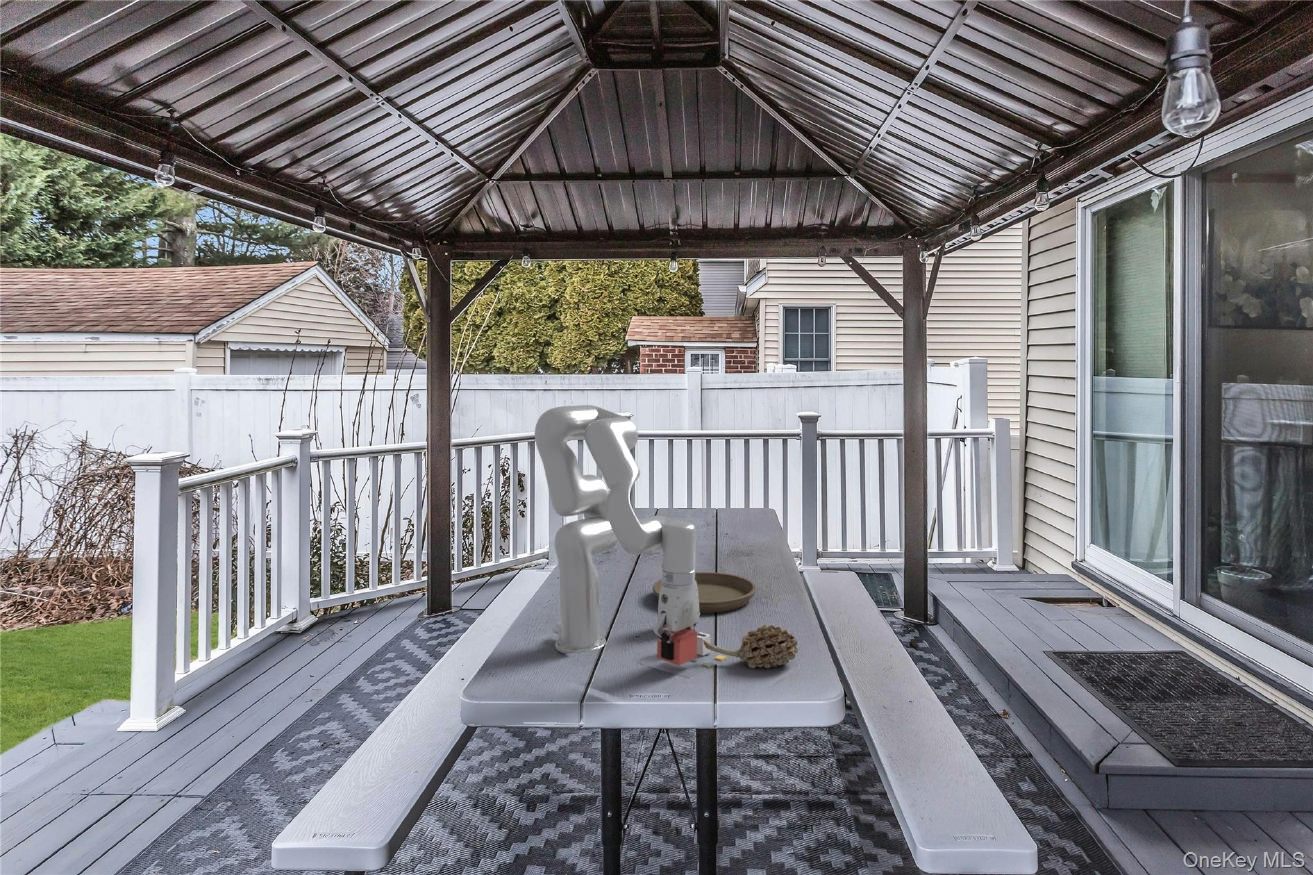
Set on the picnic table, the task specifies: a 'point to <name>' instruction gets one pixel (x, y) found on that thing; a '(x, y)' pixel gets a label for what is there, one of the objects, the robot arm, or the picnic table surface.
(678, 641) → the cap
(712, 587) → the plant saucer
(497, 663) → the picnic table surface
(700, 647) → the breaker toggle
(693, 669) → the breaker panel
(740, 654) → the pine cone
